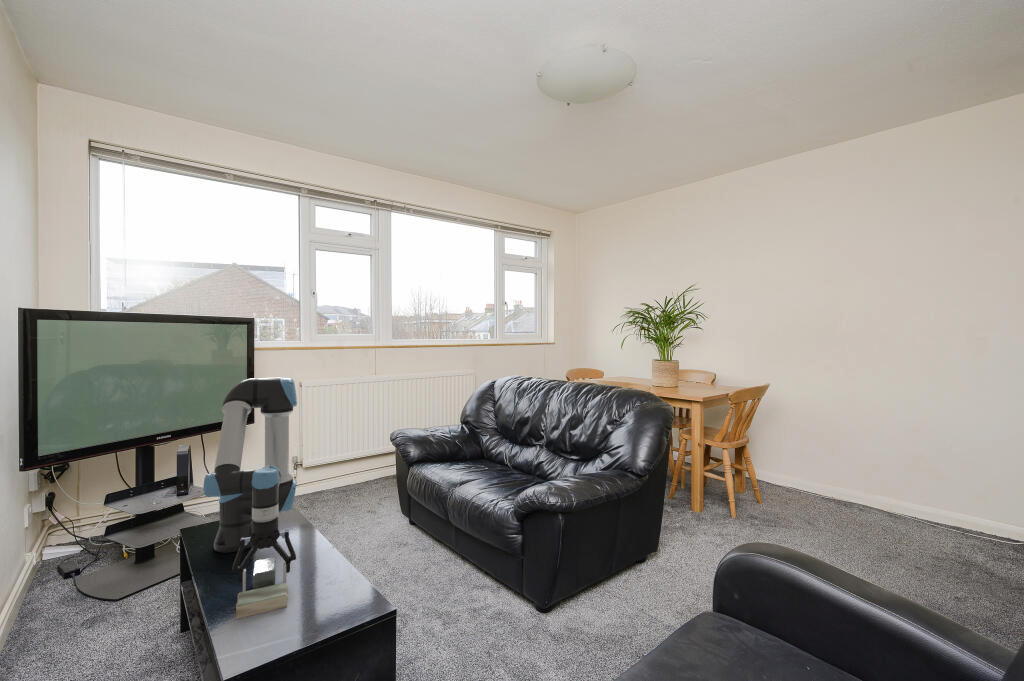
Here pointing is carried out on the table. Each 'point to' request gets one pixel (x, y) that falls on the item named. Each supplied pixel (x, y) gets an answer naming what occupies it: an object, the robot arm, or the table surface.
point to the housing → (264, 573)
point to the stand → (261, 600)
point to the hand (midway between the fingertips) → (264, 587)
